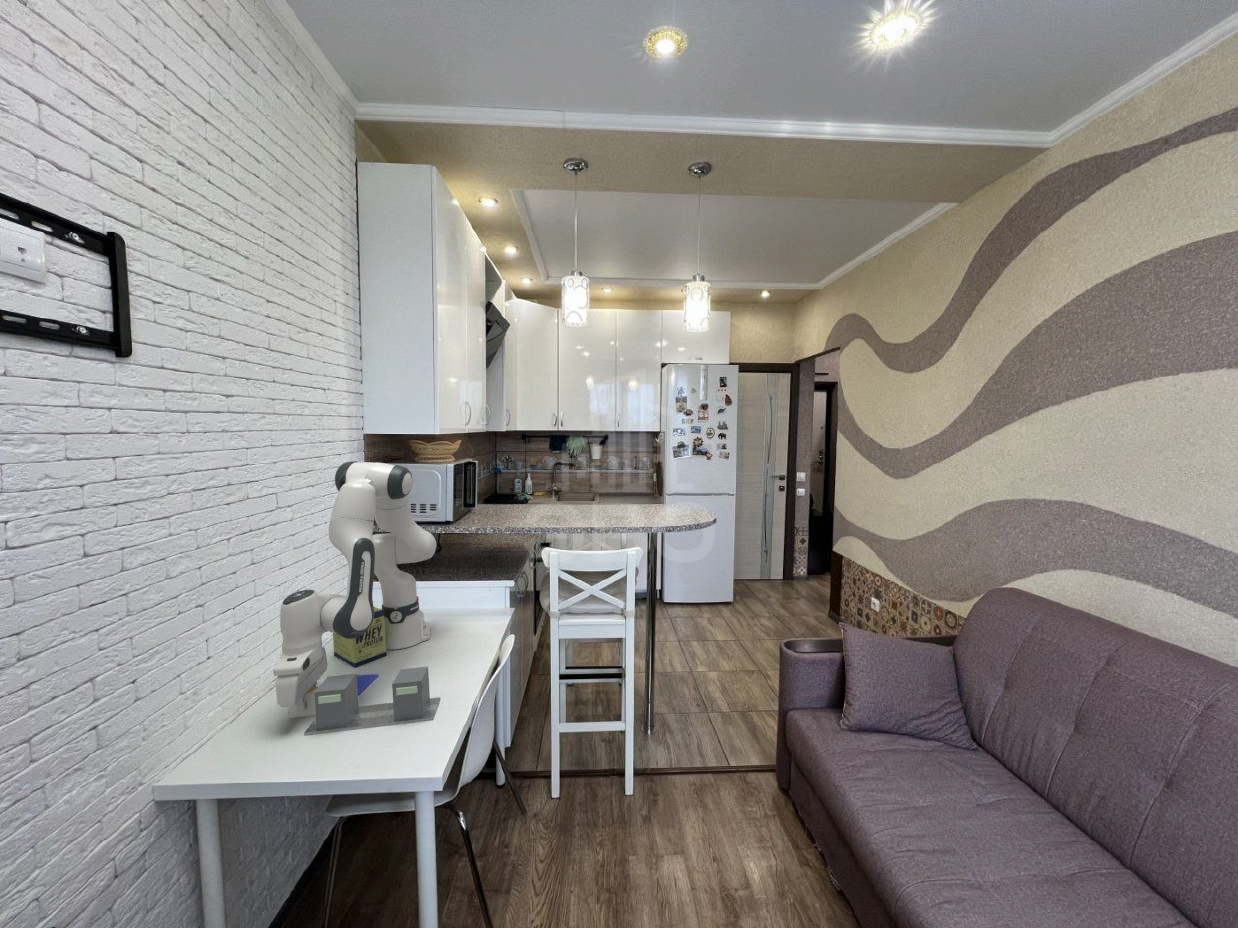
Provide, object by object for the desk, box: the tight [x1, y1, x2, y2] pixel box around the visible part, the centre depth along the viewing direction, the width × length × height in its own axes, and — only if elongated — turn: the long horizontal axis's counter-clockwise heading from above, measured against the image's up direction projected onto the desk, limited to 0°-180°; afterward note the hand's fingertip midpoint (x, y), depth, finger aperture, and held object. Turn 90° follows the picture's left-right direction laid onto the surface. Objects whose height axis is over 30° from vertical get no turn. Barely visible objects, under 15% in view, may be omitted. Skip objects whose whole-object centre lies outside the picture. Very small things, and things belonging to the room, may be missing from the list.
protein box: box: [332, 606, 387, 668], centre depth 163 cm, size 10×16×16 cm
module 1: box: [314, 673, 360, 729], centre depth 125 cm, size 8×7×10 cm
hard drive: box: [357, 673, 380, 699], centre depth 142 cm, size 2×8×12 cm
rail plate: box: [303, 696, 441, 736], centre depth 127 cm, size 10×30×1 cm, turn 100°
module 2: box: [391, 666, 431, 720], centre depth 128 cm, size 8×7×10 cm
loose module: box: [287, 686, 319, 719], centre depth 130 cm, size 4×7×6 cm, turn 100°
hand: (306, 704), depth 130 cm, fingers open, 4 cm apart
